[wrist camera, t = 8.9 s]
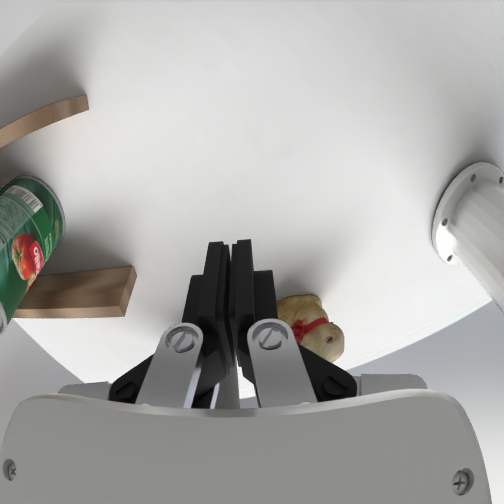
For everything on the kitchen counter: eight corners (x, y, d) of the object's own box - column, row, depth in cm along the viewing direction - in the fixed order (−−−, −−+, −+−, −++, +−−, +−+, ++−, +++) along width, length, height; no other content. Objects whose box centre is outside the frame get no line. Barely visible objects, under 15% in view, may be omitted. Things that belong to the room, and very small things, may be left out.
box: (86, 94, 15) (49, 104, 11) (136, 276, 24) (124, 316, 20) (-31, 152, 14) (-63, 173, 10) (25, 286, 24) (6, 317, 20)
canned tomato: (70, 256, 23) (21, 348, 14) (12, 245, 21) (-42, 322, 12) (61, 176, 18) (-21, 257, 9) (-2, 173, 17) (-79, 240, 8)
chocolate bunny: (319, 326, 31) (343, 403, 23) (250, 330, 30) (259, 414, 22) (330, 290, 28) (363, 374, 20) (252, 293, 27) (265, 386, 19)
